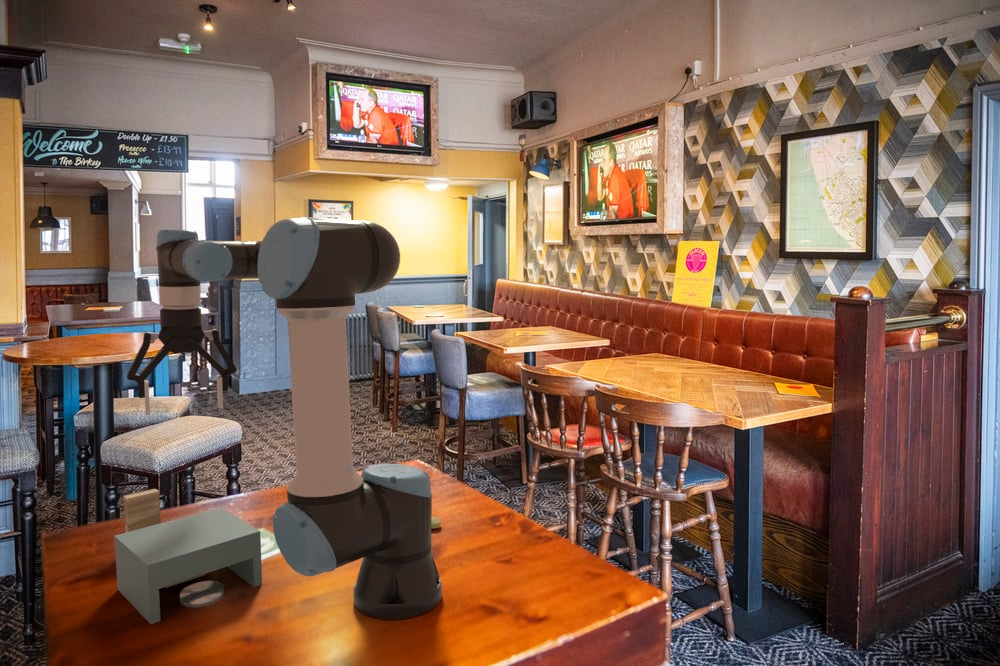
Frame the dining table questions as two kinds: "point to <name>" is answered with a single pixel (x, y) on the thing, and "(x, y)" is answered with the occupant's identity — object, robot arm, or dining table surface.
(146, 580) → the bridge
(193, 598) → the token
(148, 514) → the paddle
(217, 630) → the dining table surface
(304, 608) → the dining table surface
